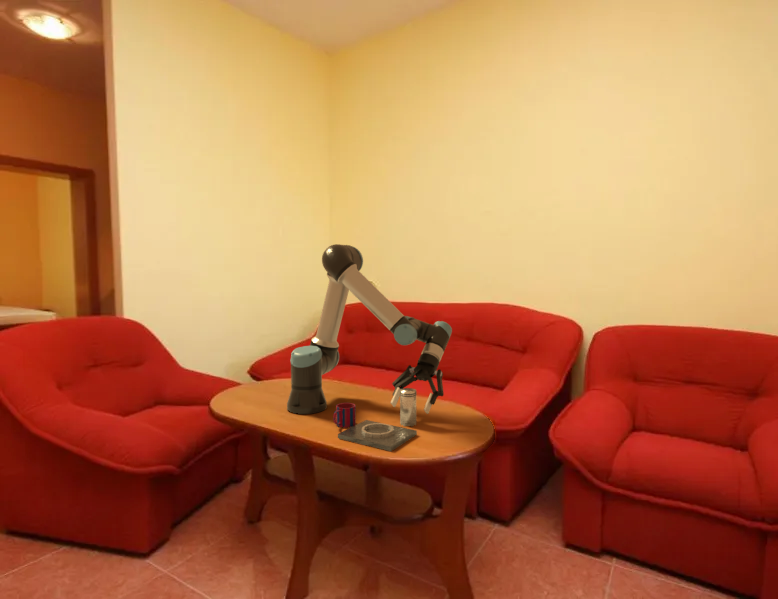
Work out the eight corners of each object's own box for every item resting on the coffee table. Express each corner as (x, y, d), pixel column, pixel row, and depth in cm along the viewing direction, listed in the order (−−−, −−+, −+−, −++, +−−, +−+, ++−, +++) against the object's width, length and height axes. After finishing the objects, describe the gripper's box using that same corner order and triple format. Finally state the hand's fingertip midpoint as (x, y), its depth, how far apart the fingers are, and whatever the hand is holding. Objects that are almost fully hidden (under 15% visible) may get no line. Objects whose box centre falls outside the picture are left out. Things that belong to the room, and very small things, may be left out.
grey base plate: (337, 438, 151) (337, 430, 150) (366, 424, 164) (366, 416, 164) (391, 451, 140) (391, 442, 140) (416, 435, 154) (416, 426, 153)
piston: (397, 422, 166) (397, 388, 165) (412, 420, 168) (412, 387, 167) (403, 427, 161) (403, 393, 160) (419, 425, 163) (419, 391, 162)
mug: (359, 424, 164) (359, 404, 164) (339, 432, 156) (339, 412, 156) (345, 420, 168) (345, 401, 168) (325, 427, 161) (325, 408, 160)
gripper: (464, 368, 170) (444, 420, 159) (405, 360, 184) (384, 407, 173) (457, 356, 165) (436, 408, 154) (398, 348, 179) (375, 396, 168)
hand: (408, 408), depth 163 cm, fingers open, 13 cm apart
